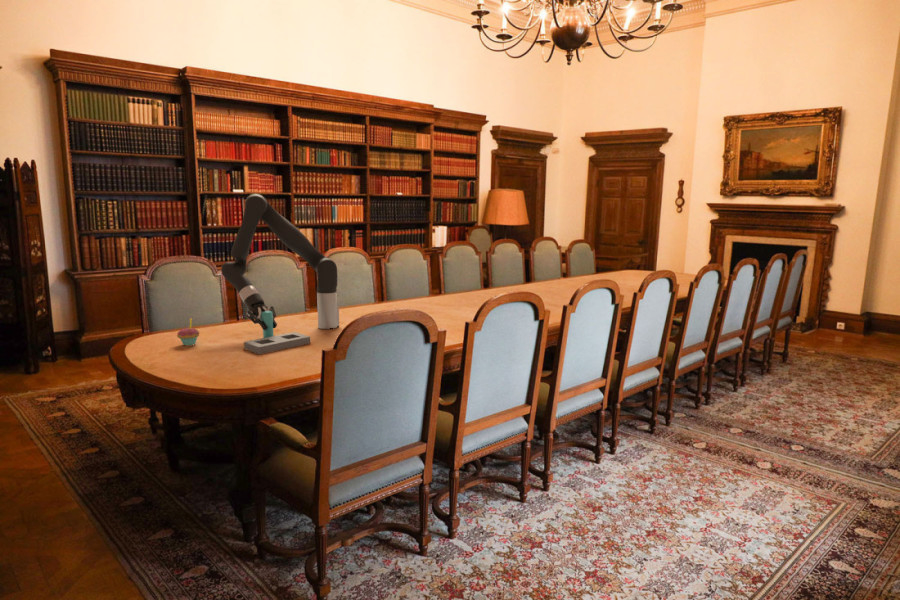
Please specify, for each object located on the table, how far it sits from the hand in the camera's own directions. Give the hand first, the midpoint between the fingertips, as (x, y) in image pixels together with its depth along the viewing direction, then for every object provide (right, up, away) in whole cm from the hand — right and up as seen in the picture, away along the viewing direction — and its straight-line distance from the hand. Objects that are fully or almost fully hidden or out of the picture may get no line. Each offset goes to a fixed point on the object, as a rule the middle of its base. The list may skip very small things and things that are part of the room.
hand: (270, 327), depth 251 cm
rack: (+6, -7, -9) cm, 13 cm away
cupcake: (-32, -7, -7) cm, 34 cm away
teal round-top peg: (-2, -5, +2) cm, 5 cm away
